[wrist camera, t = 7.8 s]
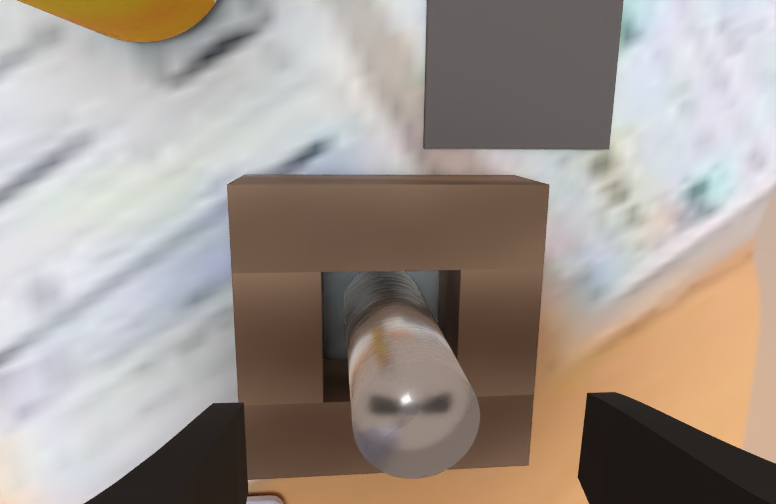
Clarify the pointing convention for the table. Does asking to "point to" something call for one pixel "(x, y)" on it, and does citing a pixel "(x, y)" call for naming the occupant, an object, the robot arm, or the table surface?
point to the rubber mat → (520, 73)
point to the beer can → (129, 16)
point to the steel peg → (404, 380)
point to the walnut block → (381, 253)
